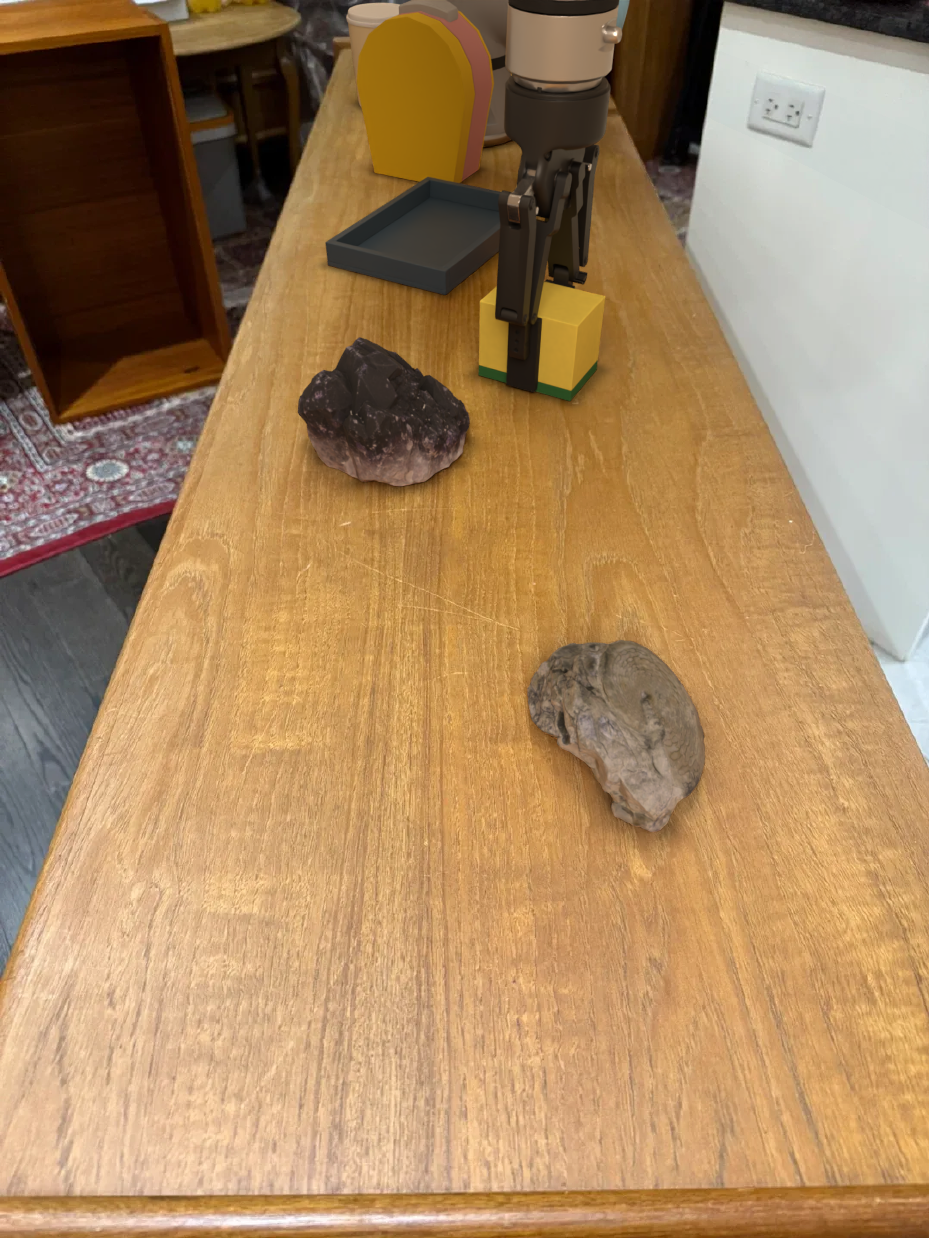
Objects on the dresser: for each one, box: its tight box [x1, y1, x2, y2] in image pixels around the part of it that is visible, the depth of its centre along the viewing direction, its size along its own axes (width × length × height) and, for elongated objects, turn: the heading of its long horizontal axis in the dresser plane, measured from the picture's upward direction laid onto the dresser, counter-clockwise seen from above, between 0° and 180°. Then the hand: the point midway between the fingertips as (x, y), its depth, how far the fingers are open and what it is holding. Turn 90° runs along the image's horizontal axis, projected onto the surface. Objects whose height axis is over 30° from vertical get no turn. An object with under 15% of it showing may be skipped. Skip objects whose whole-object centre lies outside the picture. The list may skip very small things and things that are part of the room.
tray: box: [325, 177, 501, 296], centre depth 98 cm, size 22×15×2 cm
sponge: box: [478, 282, 606, 402], centre depth 77 cm, size 6×9×7 cm, turn 62°
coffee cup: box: [345, 2, 401, 107], centre depth 129 cm, size 9×9×12 cm
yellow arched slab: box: [357, 0, 494, 183], centre depth 108 cm, size 15×8×18 cm, turn 63°
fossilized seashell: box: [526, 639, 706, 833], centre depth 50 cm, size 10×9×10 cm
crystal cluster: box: [297, 336, 471, 487], centre depth 68 cm, size 13×14×10 cm
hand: (538, 368), depth 79 cm, fingers closed on sponge, 6 cm apart
